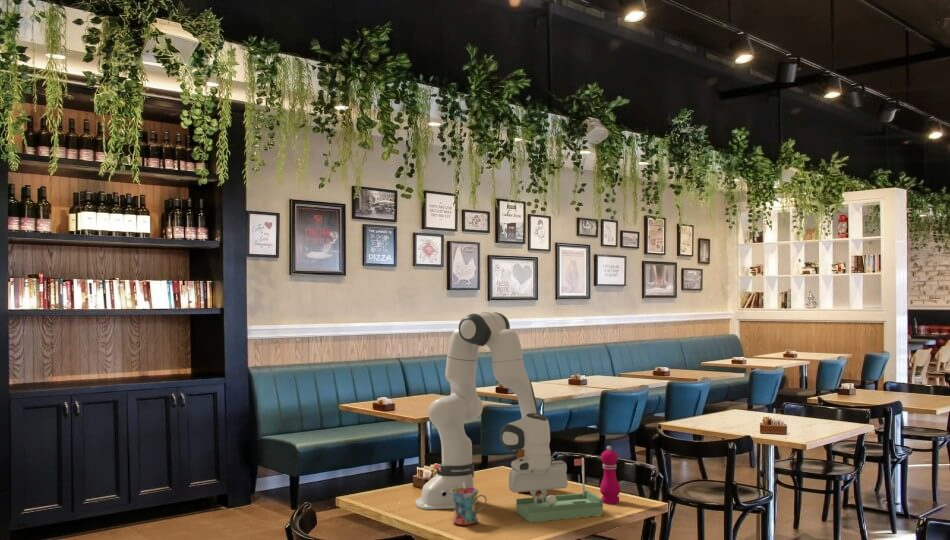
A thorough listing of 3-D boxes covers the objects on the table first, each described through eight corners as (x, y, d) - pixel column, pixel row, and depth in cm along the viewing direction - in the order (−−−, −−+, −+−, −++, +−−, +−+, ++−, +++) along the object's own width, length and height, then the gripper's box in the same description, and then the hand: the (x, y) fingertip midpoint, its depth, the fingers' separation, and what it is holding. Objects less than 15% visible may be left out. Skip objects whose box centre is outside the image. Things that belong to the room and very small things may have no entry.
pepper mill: (607, 505, 288) (606, 448, 288) (596, 501, 294) (595, 445, 295) (624, 503, 291) (623, 446, 291) (613, 498, 297) (611, 443, 298)
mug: (448, 526, 265) (447, 493, 266) (454, 518, 274) (453, 487, 275) (484, 527, 263) (484, 494, 263) (489, 519, 272) (488, 487, 273)
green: (529, 522, 268) (528, 470, 268) (516, 512, 281) (515, 462, 282) (602, 515, 274) (601, 464, 275) (586, 505, 288) (585, 457, 289)
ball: (552, 494, 275) (560, 500, 276) (549, 491, 279) (556, 498, 280) (545, 502, 275) (553, 509, 275) (542, 500, 278) (550, 506, 279)
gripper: (563, 458, 282) (564, 498, 282) (506, 462, 277) (507, 503, 276) (569, 461, 276) (571, 502, 275) (512, 466, 271) (513, 508, 270)
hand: (538, 503), depth 276 cm, fingers closed
